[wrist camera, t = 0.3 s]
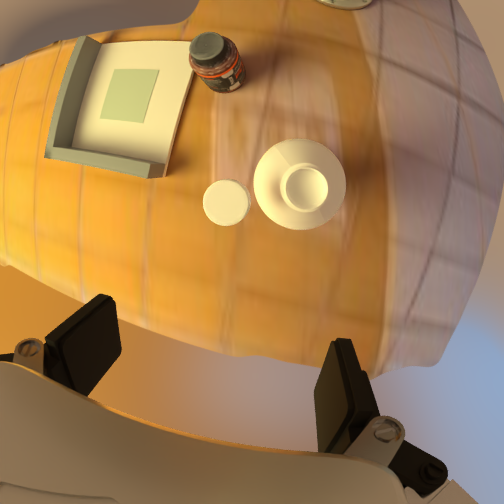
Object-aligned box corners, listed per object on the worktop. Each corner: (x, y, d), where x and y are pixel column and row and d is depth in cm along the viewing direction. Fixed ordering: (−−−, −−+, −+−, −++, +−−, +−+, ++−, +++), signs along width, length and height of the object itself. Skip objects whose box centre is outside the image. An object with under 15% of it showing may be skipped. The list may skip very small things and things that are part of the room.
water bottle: (309, 151, 36) (356, 119, 12) (317, 197, 38) (373, 241, 14) (248, 162, 37) (190, 148, 13) (256, 206, 39) (216, 265, 15)
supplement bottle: (249, 89, 34) (236, 61, 23) (209, 98, 35) (182, 74, 24) (243, 55, 33) (229, 20, 22) (203, 64, 33) (178, 33, 23)
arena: (97, 46, 33) (78, 37, 27) (204, 45, 32) (192, 28, 27) (66, 156, 40) (44, 157, 34) (165, 176, 39) (147, 178, 33)
